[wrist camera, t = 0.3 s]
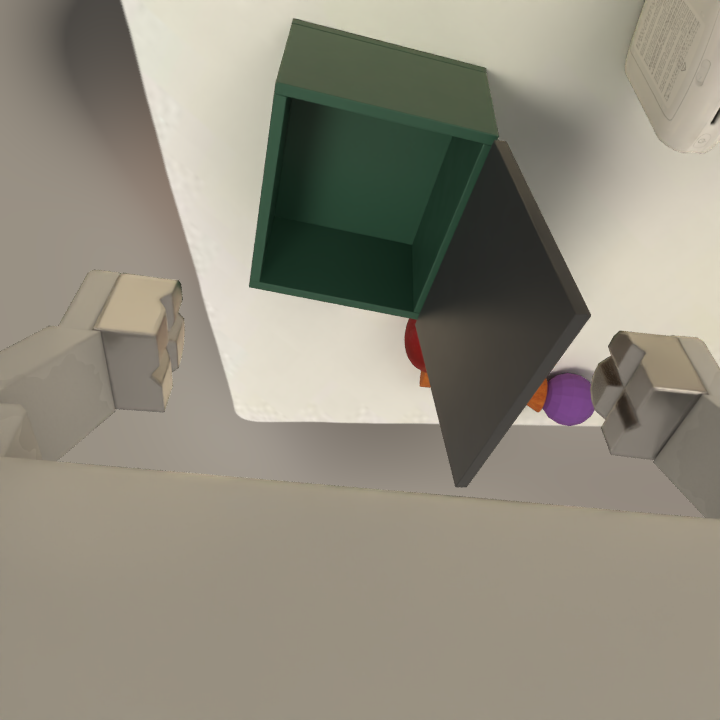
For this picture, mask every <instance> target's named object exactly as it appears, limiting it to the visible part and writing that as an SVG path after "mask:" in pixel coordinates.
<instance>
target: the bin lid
mask: <svg viewBox="0 0 720 720" xmlns="http://www.w3.org/2000/svg"><path fill="white" fill-rule="evenodd" d="M590 317H591V314H590V312H589V310H588V308H587V306H586V304H585V302H584V299H583V297H582V295H581V293H580V291H579V289H578V287H577V285H576V283H575V281H574V279H573V277H572V275H571V273H570V271H569V269H568V267H567V265H566V263H565V261H564V259H563V257H562V254H561V252H560V250H559V248H558V246H557V244H556V242H555V240H554V238H553V236H552V234H551V232H550V230H549V228H548V226H547V224H546V222H545V220H544V218H543V216H542V214H541V211H540V209H539V207H538V205H537V203H536V201H535V199H534V197H533V195H532V193H531V191H530V189H529V187H528V185H527V183H526V181H525V179H524V177H523V175H522V173H521V171H520V169H519V166H518V164H517V162H516V160H515V158H514V156H513V154H512V152H511V150H510V148H509V146H508V144H507V142H506V141H499V140H494V142H493V144H492V146H491V149H490V151H489V153H488V156H487V158H486V160H485V163H484V165H483V167H482V170H481V172H480V174H479V176H478V179H477V181H476V183H475V186H474V188H473V190H472V193H471V195H470V197H469V200H468V202H467V204H466V207H465V209H464V211H463V214H462V216H461V218H460V221H459V223H458V225H457V228H456V230H455V232H454V235H453V237H452V239H451V242H450V244H449V246H448V249H447V251H446V253H445V256H444V258H443V260H442V263H441V265H440V267H439V270H438V272H437V274H436V277H435V279H434V281H433V284H432V286H431V288H430V291H429V293H428V295H427V298H426V300H425V302H424V305H423V307H422V309H421V312H420V314H419V316H418V319H417V321H416V323H415V326H416V330H417V334H418V338H419V342H420V346H421V350H422V354H423V358H424V363H425V367H426V371H427V375H428V379H429V383H430V387H431V391H432V395H433V399H434V403H435V407H436V411H437V415H438V419H439V423H440V427H441V431H442V435H443V439H444V443H445V447H446V451H447V455H448V459H449V463H450V467H451V471H452V475H453V479H454V483H455V487H467V486H468V485H469V483H470V482H471V481H472V479H473V478H474V476H475V475H476V474H477V472H478V471H479V470H480V468H481V467H482V465H483V464H484V463H485V461H486V460H487V459H488V457H489V456H490V454H491V453H492V452H493V450H494V449H495V448H496V446H497V445H498V443H499V442H500V441H501V439H502V438H503V437H504V435H505V434H506V432H507V431H508V430H509V428H510V427H511V425H512V424H513V423H514V421H515V420H516V419H517V417H518V416H519V414H520V413H521V412H522V410H523V409H524V408H525V406H526V405H527V403H528V402H529V401H530V399H531V398H532V397H533V395H534V394H535V392H536V391H537V390H538V388H539V387H540V386H541V384H542V383H543V381H544V380H545V379H546V377H547V376H548V374H549V373H550V372H551V370H552V369H553V368H554V366H555V365H556V363H557V362H558V361H559V359H560V358H561V357H562V355H563V354H564V352H565V351H566V350H567V348H568V347H569V346H570V344H571V343H572V341H573V340H574V339H575V337H576V336H577V335H578V333H579V332H580V330H581V329H582V328H583V326H584V325H585V324H586V322H587V321H588V319H589V318H590Z"/></svg>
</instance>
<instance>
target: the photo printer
mask: <svg viewBox="0 0 720 720" xmlns="http://www.w3.org/2000/svg"><path fill="white" fill-rule="evenodd" d="M625 73H626V76H627V78H628V80H629V81H630V84H631V85H632V87H633V89H634V91H635V93H636V95H637V97H638V99H639V101H640V103H641V105H642V107H643V109H644V111H645V113H646V115H647V117H648V119H649V121H650V123H651V125H652V127H653V129H654V131H655V134H656V135H657V137H658V138H659V140H660V141H661V142H663V143H664V144H665V145H666V146H668V147H670V148H672V149H673V150H676V151H678V152H681V153H688V152H695V153H699V154H703V153H706V152H708V151H710V150H711V149H712V148H713V147H714V146H715V145H716V144H717V143H718V142H719V141H720V0H646V1H645V3H644V6H643V9H642V12H641V14H640V17H639V20H638V23H637V26H636V29H635V31H634V34H633V37H632V40H631V43H630V47H629V50H628V53H627V57H626V63H625Z"/></svg>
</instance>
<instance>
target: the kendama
mask: <svg viewBox="0 0 720 720" xmlns="http://www.w3.org/2000/svg"><path fill="white" fill-rule="evenodd" d="M420 387H430V383H429V379H428V375H427V373H425V372H423V371H421V375H420ZM590 388H591V384H590V382H589V381H588V380H586V379H585V378H583V377H582V376H580V375H576V374H570V373H564V374H559V375H556V376H555V377H554V378H552V379H551V380H549V381H548V382H547V379H545V380H544V381H543V383H542V384H541V386H540V387H539V388H538V390H537V391H536V392H535V394H534V395H533V397H532V398H531V399H530V401H529V402H528V403H527V405H528V406H529V407H530V408H532V409H533V410H535V411H536V412H540V411H541V409H542V408H543V410H544V411H545V413H546V414H547V416H548V417H549V418H551V419H552V420H554V421H555V422H557V423H559V424H562V425H567V426H572V425H577V424H580V423H582V422H584V421H585V420H587V419H588V418H589V417H591V415H592V414H593V412H594V407H593V404H592V401H591V392H590Z"/></svg>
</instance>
